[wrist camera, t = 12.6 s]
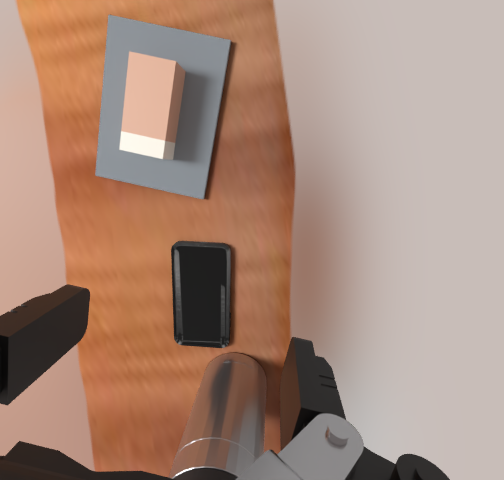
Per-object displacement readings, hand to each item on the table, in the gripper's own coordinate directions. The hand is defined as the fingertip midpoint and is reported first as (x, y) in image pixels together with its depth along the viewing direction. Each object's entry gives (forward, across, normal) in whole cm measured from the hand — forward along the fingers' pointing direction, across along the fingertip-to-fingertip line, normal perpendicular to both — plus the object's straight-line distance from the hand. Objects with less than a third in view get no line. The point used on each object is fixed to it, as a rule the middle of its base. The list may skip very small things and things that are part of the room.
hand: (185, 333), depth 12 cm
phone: (+29, +4, +12) cm, 31 cm away
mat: (+28, +13, -10) cm, 33 cm away
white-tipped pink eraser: (+28, +13, -10) cm, 32 cm away
